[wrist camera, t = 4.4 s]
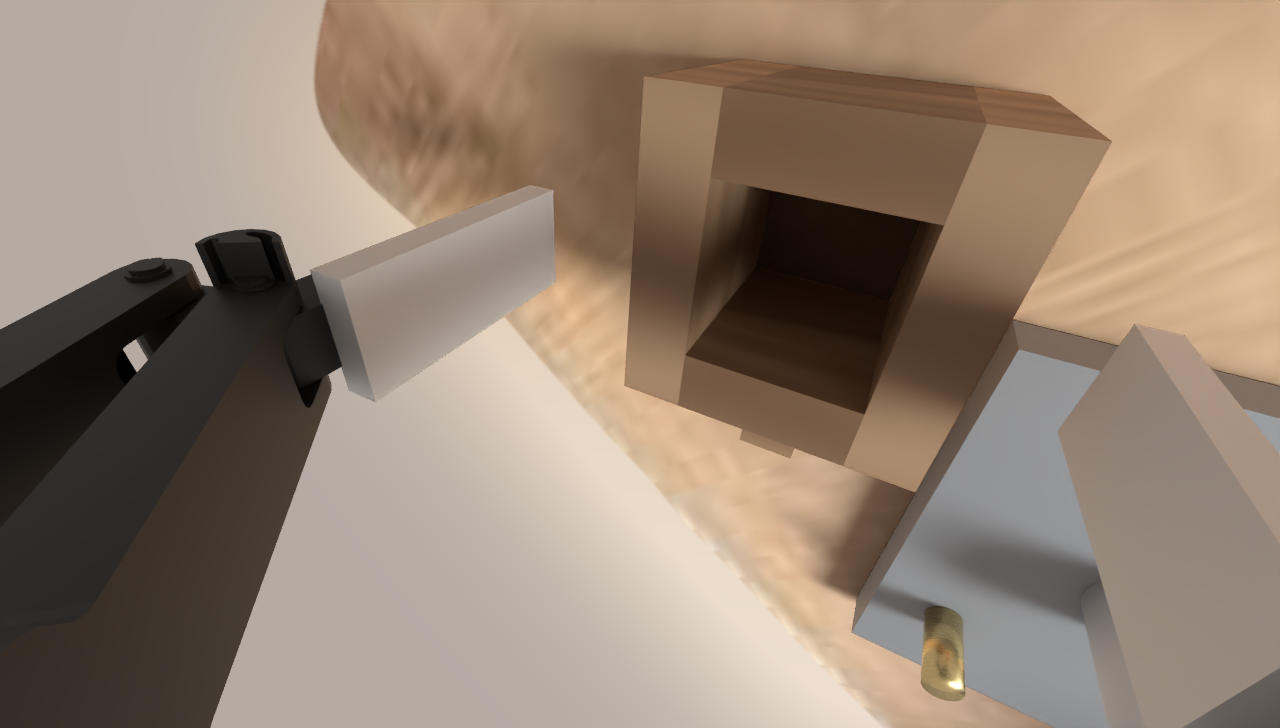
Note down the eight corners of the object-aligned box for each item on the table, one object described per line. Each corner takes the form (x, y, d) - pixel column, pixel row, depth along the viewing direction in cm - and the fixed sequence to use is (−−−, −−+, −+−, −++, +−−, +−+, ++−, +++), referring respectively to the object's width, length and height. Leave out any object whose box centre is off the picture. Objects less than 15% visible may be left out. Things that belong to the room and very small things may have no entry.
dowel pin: (931, 600, 21) (929, 669, 19) (969, 617, 21) (971, 689, 18) (918, 619, 22) (915, 686, 20) (954, 635, 21) (955, 706, 19)
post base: (1012, 319, 16) (1041, 457, 11) (1704, 491, 12) (2300, 861, 7) (857, 597, 26) (833, 743, 20) (1210, 754, 21) (1296, 995, 16)
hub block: (742, 59, 16) (643, 76, 11) (1049, 95, 13) (1111, 141, 8) (692, 374, 23) (618, 475, 18) (886, 441, 21) (865, 581, 15)
